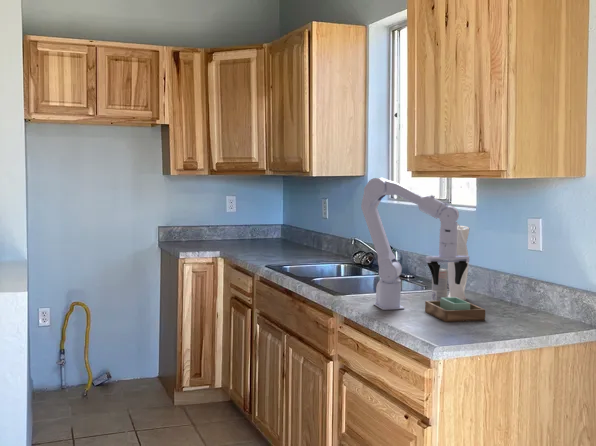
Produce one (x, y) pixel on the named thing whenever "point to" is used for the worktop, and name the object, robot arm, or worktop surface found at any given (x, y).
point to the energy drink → (440, 286)
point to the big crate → (455, 313)
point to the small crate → (454, 304)
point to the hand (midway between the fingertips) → (446, 284)
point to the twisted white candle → (454, 288)
